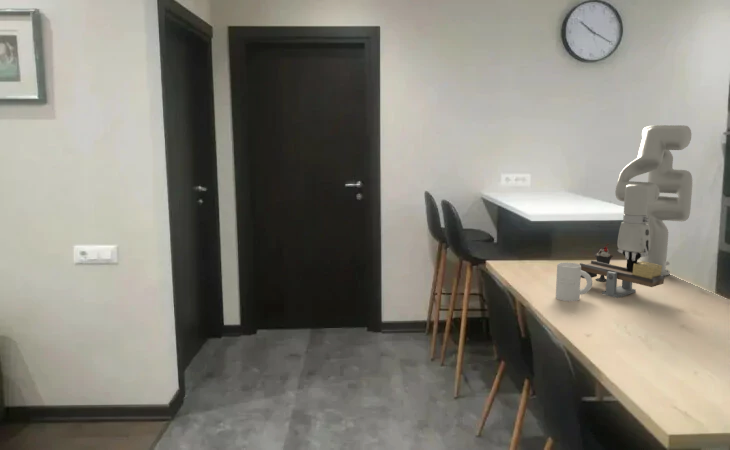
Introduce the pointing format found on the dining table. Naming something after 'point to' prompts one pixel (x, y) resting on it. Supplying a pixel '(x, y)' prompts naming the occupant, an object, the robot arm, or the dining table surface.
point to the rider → (646, 269)
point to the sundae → (603, 260)
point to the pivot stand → (617, 291)
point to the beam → (619, 273)
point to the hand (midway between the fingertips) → (631, 270)
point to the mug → (571, 282)
